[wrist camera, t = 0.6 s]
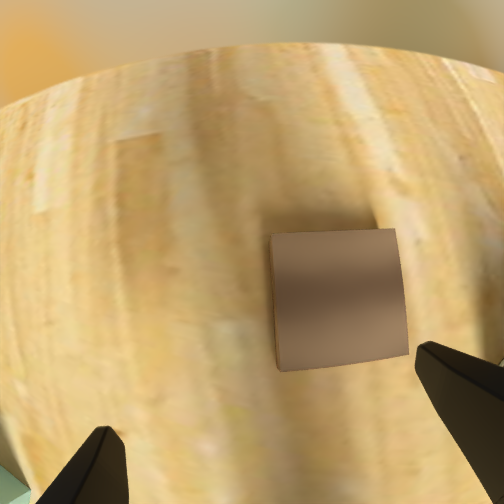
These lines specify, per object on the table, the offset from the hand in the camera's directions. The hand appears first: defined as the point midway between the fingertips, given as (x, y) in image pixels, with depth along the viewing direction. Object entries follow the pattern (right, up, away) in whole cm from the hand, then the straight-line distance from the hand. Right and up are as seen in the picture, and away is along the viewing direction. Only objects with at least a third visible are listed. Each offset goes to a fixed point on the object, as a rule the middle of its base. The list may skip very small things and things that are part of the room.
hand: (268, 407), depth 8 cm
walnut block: (+6, 0, +16) cm, 17 cm away
